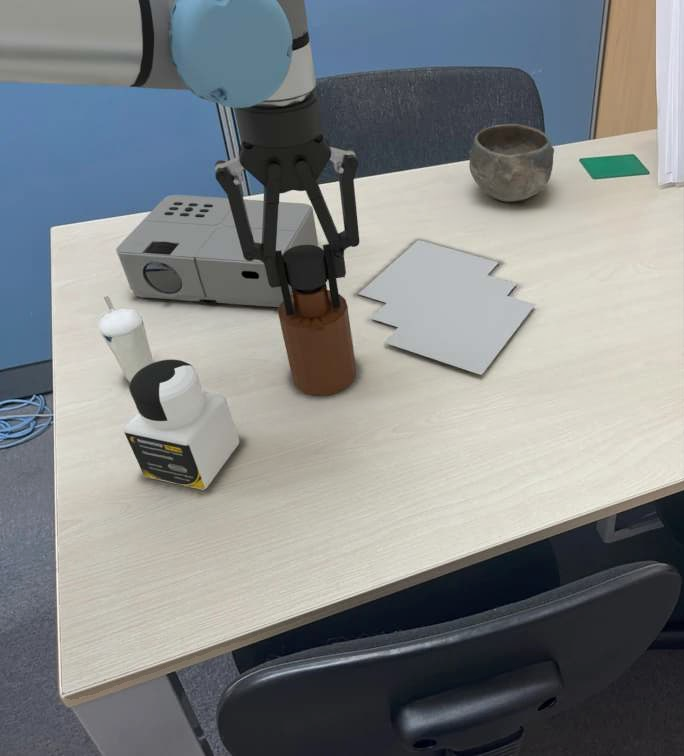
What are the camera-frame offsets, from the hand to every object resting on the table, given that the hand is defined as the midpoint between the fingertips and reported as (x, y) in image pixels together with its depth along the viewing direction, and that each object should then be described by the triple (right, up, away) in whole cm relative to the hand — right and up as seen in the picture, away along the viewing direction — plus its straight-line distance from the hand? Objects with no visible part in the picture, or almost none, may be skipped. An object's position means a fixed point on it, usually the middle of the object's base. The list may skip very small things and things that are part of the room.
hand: (312, 304), depth 79 cm
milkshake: (-22, -8, +6) cm, 24 cm away
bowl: (+23, +24, +45) cm, 56 cm away
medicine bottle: (-12, -17, -4) cm, 21 cm away
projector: (-18, +7, +23) cm, 30 cm away
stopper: (0, 0, 0) cm, 1 cm away
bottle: (0, -8, +7) cm, 10 cm away
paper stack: (+13, +2, +19) cm, 24 cm away
